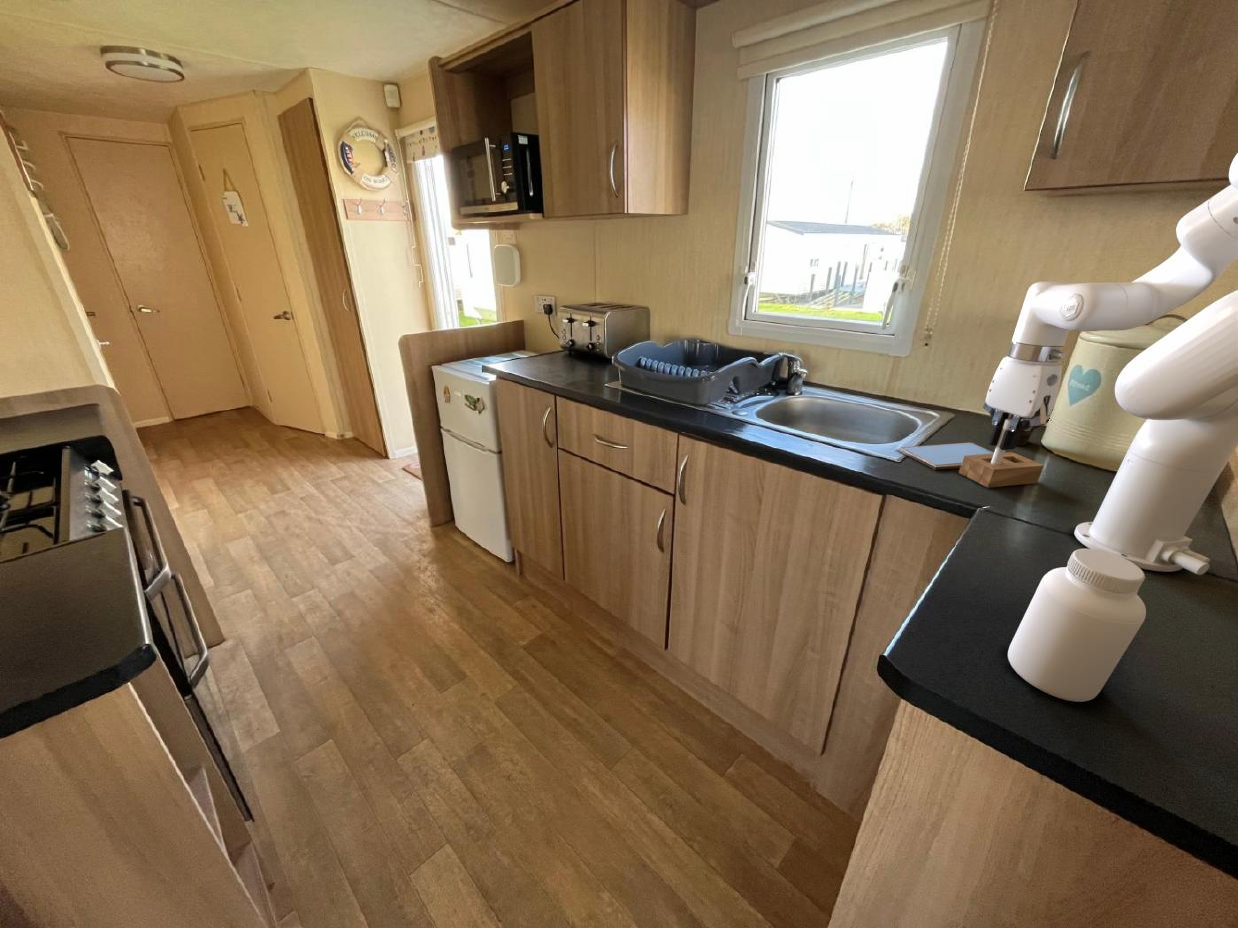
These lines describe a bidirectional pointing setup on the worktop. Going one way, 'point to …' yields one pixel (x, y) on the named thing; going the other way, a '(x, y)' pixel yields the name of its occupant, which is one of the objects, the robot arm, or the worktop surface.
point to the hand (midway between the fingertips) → (1001, 446)
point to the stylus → (998, 452)
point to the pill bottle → (1079, 625)
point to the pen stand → (1001, 470)
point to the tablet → (943, 454)
